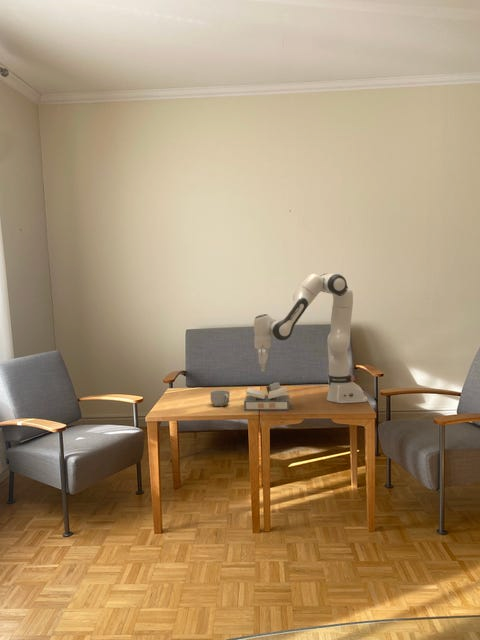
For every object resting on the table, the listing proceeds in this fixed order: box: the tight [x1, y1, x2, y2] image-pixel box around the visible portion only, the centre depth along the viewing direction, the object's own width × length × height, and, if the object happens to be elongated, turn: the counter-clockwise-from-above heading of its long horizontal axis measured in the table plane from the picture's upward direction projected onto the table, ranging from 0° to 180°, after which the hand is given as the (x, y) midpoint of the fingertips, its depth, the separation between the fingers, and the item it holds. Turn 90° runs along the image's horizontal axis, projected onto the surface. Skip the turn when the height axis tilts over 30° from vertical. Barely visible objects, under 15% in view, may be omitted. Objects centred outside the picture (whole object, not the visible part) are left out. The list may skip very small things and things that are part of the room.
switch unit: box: [243, 394, 291, 412], centre depth 300 cm, size 24×14×7 cm, turn 84°
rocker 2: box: [267, 386, 288, 399], centre depth 299 cm, size 10×11×2 cm
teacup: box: [209, 389, 230, 407], centre depth 307 cm, size 14×11×8 cm
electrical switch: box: [265, 381, 282, 395], centre depth 320 cm, size 9×5×9 cm, turn 141°
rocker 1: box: [245, 387, 267, 399], centre depth 301 cm, size 10×11×2 cm
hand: (263, 369), depth 299 cm, fingers open, 8 cm apart
